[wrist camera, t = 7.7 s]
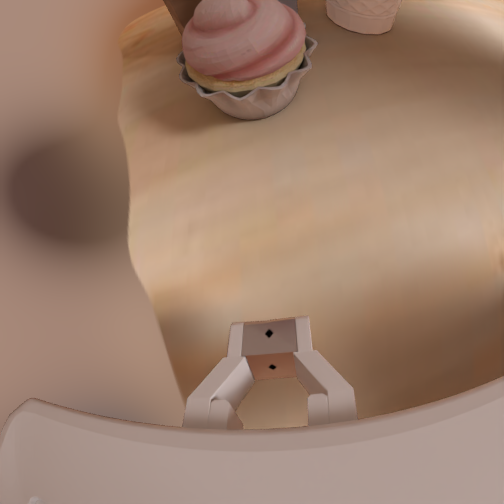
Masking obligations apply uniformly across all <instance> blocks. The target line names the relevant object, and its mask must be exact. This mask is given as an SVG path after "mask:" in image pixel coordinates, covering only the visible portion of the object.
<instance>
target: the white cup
mask: <svg viewBox="0 0 504 504" xmlns="http://www.w3.org/2000/svg"><path fill="white" fill-rule="evenodd" d="M401 1H402V0H325V3H326V12H327V16H328V17H329V18H330V19H331V20H332V21H333V22H334V23H335V24H337V25H339V26H341V27H343V28H345V29H347V30H350V31H354V32H358V33H362V34H382V33H384V32H387V31H390V30H391V28H392V26H393V24H394V21H395V17H396V14H397V11H398V9H399V8H400V5H401Z"/></svg>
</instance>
